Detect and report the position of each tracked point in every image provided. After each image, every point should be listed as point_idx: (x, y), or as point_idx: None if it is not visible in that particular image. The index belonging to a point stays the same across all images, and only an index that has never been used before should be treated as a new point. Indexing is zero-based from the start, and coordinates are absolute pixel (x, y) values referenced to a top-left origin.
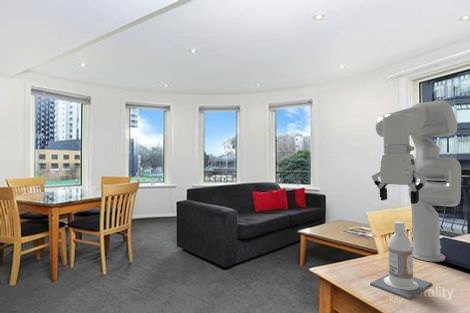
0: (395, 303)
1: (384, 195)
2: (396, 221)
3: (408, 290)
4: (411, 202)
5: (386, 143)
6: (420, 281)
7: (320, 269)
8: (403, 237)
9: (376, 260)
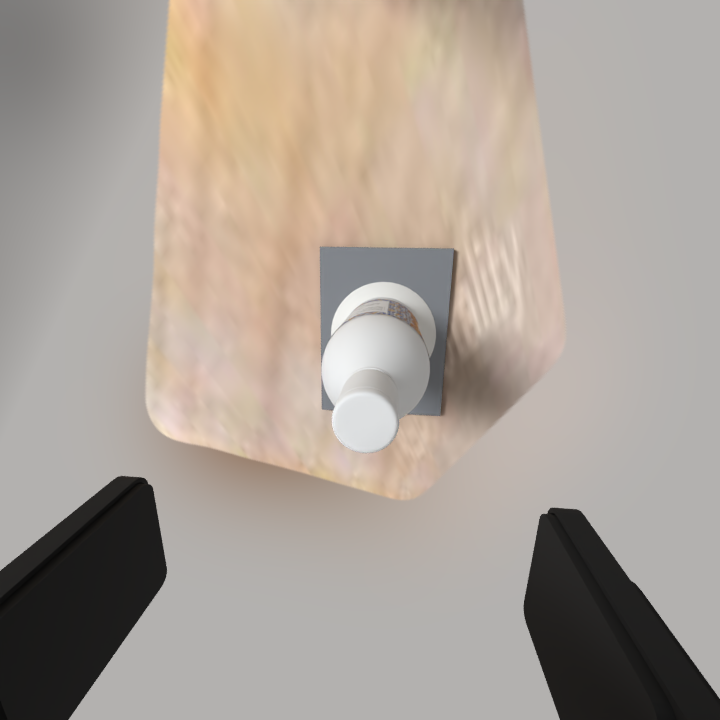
0: (423, 459)
1: (118, 598)
2: (338, 409)
3: None
4: (535, 629)
5: None
6: (422, 269)
7: (160, 419)
8: (402, 407)
9: (207, 166)
